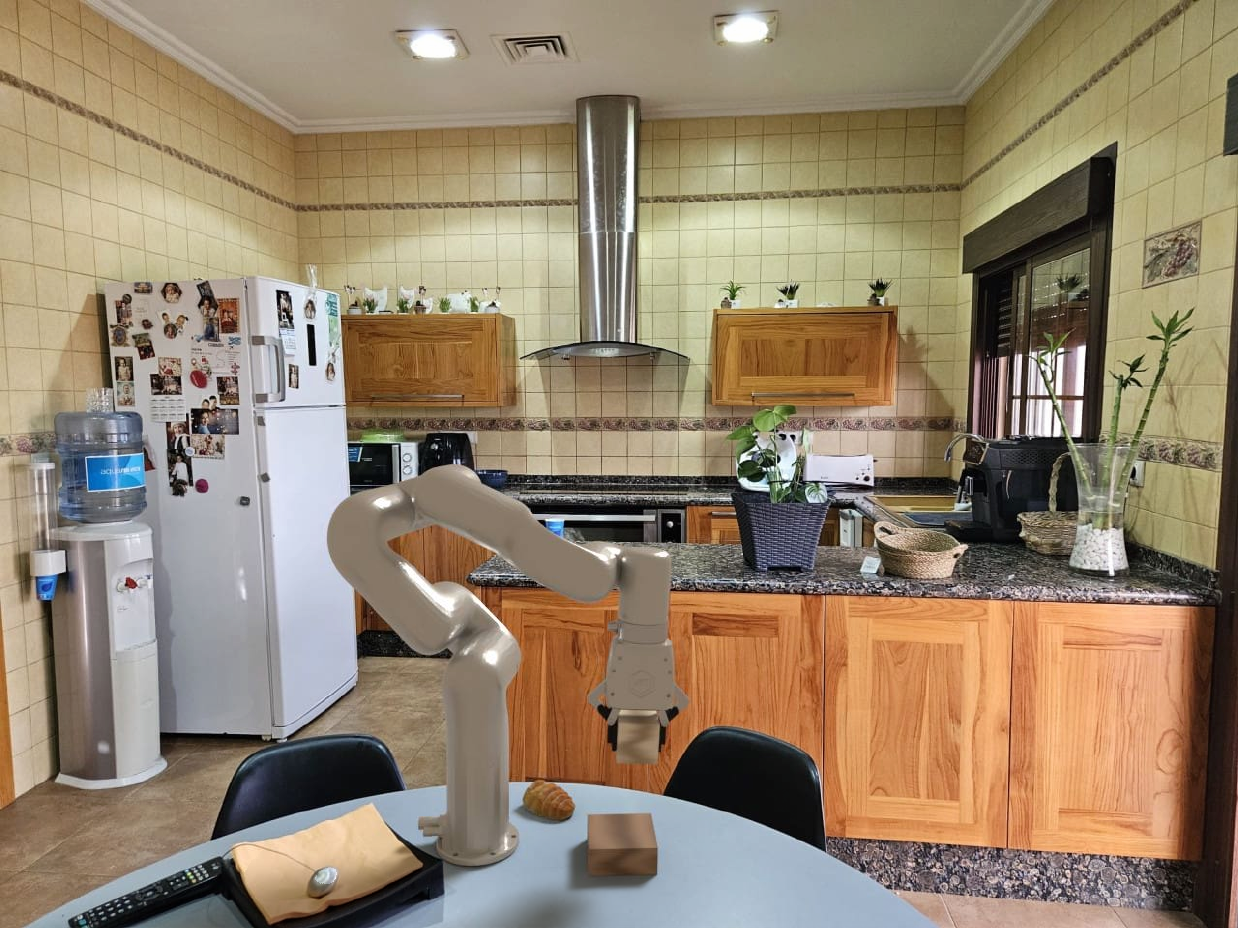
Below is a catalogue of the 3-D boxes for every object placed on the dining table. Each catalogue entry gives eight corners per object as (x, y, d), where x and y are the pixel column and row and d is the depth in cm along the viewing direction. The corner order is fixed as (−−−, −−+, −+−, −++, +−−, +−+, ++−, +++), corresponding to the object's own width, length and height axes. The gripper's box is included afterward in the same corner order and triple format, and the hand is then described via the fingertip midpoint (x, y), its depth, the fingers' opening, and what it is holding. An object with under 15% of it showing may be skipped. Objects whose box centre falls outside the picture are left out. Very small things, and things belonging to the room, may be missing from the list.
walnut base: (588, 875, 115) (588, 848, 115) (587, 838, 125) (587, 814, 125) (657, 874, 116) (657, 847, 115) (650, 837, 125) (651, 812, 125)
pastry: (585, 812, 134) (585, 790, 133) (556, 828, 129) (556, 805, 128) (546, 794, 140) (546, 773, 140) (517, 808, 135) (517, 787, 134)
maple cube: (616, 763, 116) (619, 723, 116) (614, 745, 122) (616, 707, 122) (657, 764, 117) (659, 724, 116) (653, 746, 123) (655, 708, 122)
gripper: (585, 636, 114) (578, 757, 115) (703, 640, 115) (696, 760, 116) (584, 621, 121) (578, 736, 123) (695, 625, 122) (688, 739, 124)
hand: (635, 746), depth 119 cm, fingers closed on maple cube, 6 cm apart
